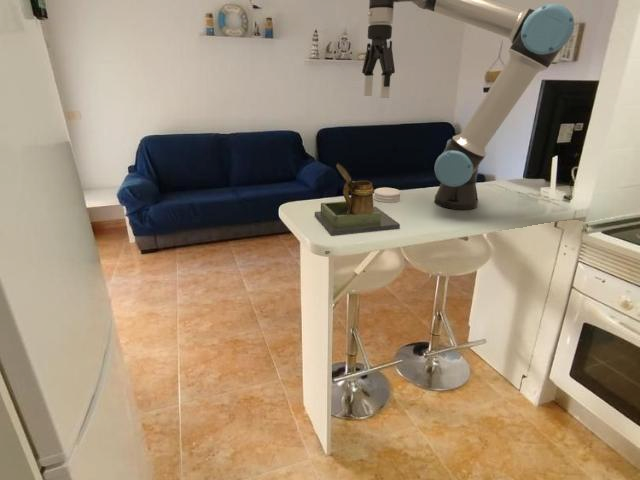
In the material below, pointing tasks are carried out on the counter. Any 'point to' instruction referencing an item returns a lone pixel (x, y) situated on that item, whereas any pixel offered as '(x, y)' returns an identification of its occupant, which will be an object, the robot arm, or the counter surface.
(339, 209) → the green and grey tray
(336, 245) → the counter surface
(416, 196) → the counter surface
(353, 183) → the wooden mug
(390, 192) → the coaster
